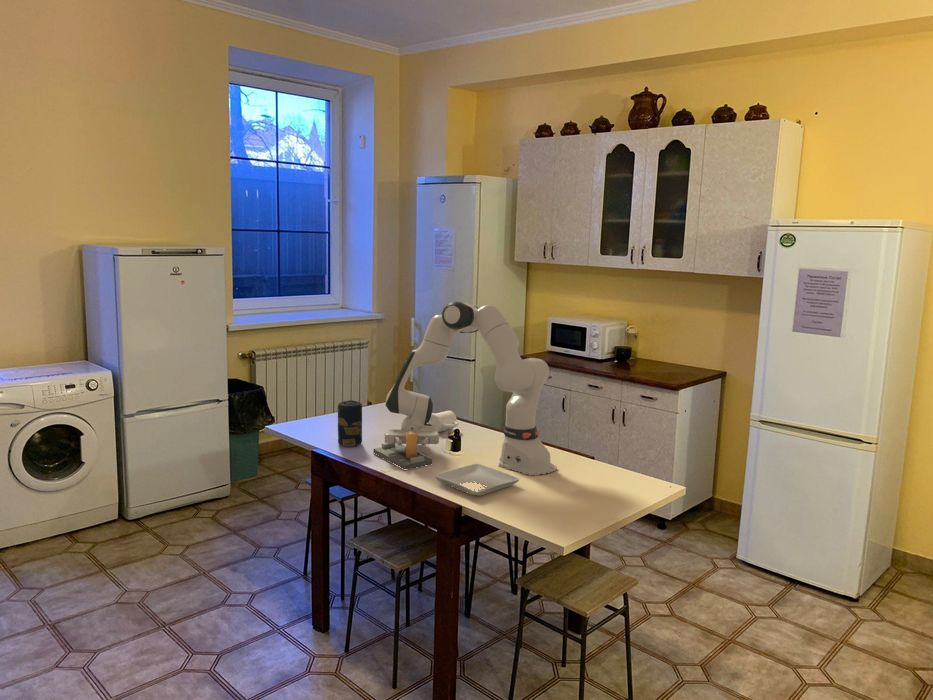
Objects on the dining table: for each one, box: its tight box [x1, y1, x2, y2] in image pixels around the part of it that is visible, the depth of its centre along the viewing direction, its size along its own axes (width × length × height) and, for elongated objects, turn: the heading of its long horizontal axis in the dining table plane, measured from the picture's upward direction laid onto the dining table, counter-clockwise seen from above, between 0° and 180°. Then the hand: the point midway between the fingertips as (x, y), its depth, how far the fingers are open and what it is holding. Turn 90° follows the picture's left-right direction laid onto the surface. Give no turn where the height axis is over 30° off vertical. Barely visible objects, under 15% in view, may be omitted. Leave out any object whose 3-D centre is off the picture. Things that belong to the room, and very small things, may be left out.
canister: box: [337, 399, 363, 447], centre depth 280 cm, size 10×10×18 cm
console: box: [373, 442, 433, 470], centre depth 266 cm, size 22×12×4 cm, turn 38°
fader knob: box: [405, 432, 418, 459], centre depth 260 cm, size 4×4×9 cm
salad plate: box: [434, 463, 520, 497], centre depth 242 cm, size 21×21×3 cm
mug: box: [427, 410, 459, 433], centre depth 303 cm, size 12×10×8 cm
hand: (411, 443), depth 259 cm, fingers open, 7 cm apart
